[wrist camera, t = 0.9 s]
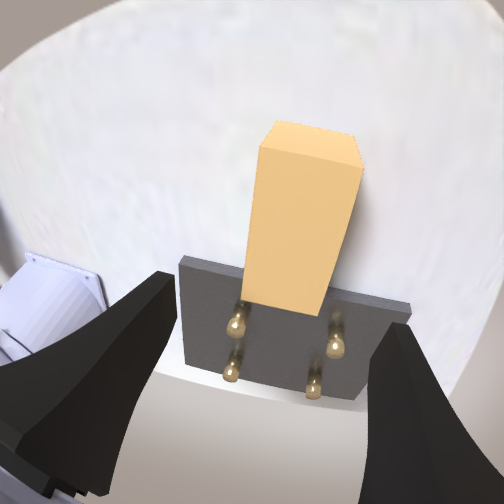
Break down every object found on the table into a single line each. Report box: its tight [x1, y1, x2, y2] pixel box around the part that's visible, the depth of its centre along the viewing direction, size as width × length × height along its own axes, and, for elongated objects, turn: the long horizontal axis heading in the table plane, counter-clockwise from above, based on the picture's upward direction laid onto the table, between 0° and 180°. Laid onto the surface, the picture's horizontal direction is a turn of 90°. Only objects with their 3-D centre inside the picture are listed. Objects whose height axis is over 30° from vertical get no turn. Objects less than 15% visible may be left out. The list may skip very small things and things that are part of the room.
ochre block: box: [241, 120, 364, 316], centre depth 16 cm, size 4×8×5 cm, turn 173°
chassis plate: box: [179, 255, 412, 400], centre depth 24 cm, size 16×12×3 cm
